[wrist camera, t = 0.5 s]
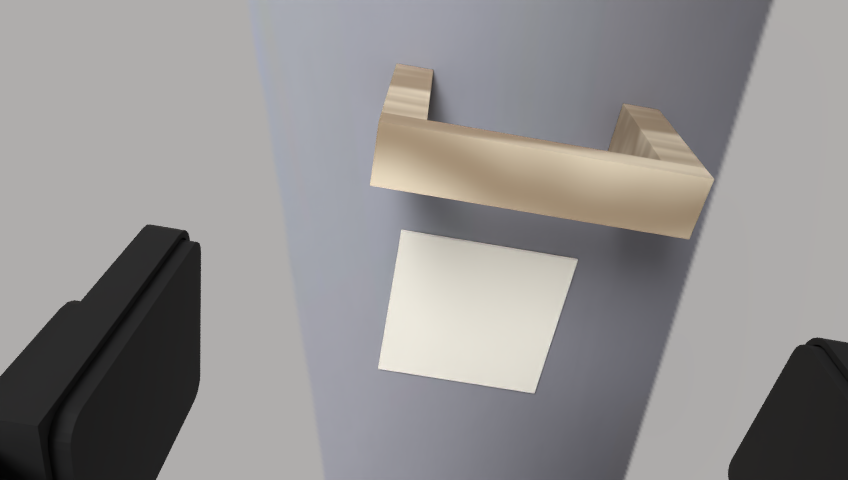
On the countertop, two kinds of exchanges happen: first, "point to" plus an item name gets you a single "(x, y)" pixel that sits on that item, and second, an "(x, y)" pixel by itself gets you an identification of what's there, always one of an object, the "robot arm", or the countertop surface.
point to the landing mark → (473, 311)
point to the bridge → (541, 166)
